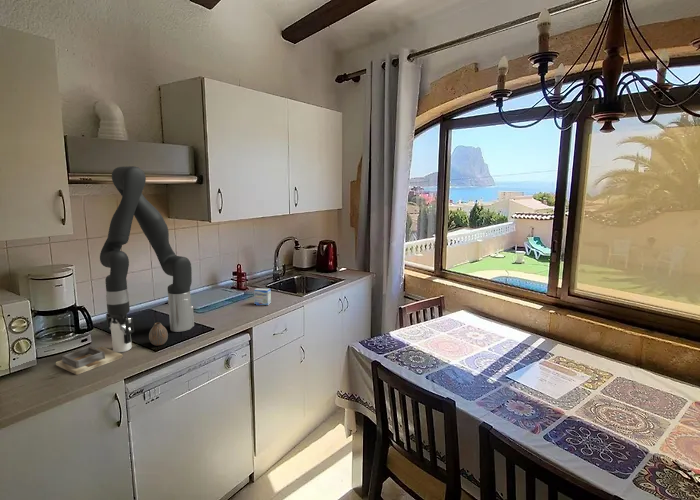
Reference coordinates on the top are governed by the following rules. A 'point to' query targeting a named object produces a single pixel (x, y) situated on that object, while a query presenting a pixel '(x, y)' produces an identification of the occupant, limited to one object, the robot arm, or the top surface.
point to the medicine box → (262, 296)
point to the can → (119, 339)
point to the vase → (158, 334)
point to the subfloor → (87, 359)
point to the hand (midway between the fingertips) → (121, 340)
